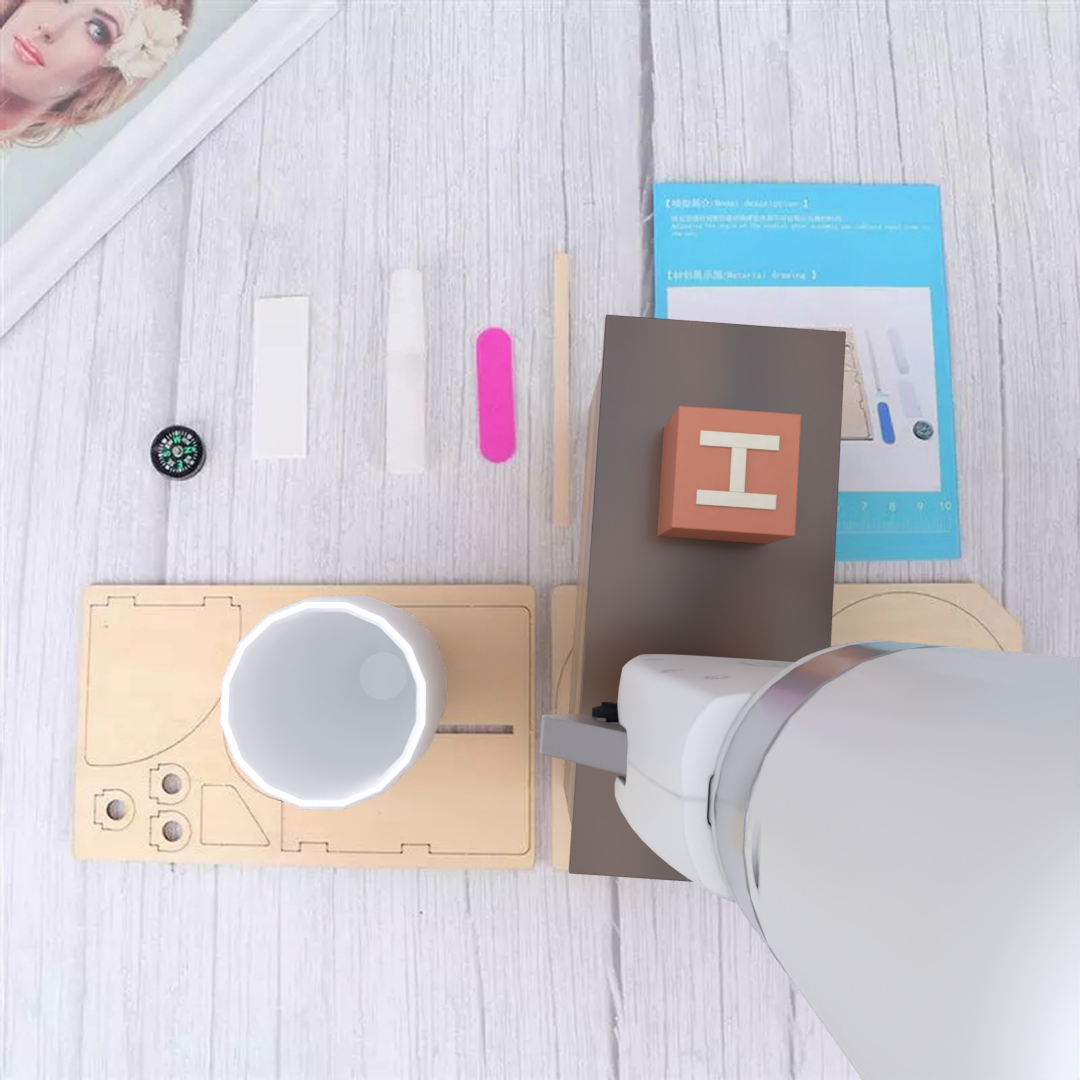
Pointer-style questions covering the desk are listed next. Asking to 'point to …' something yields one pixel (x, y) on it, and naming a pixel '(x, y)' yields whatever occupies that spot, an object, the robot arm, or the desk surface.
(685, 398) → the word board
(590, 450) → the stand
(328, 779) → the cup
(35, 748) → the desk surface
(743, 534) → the tile
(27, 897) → the desk surface
